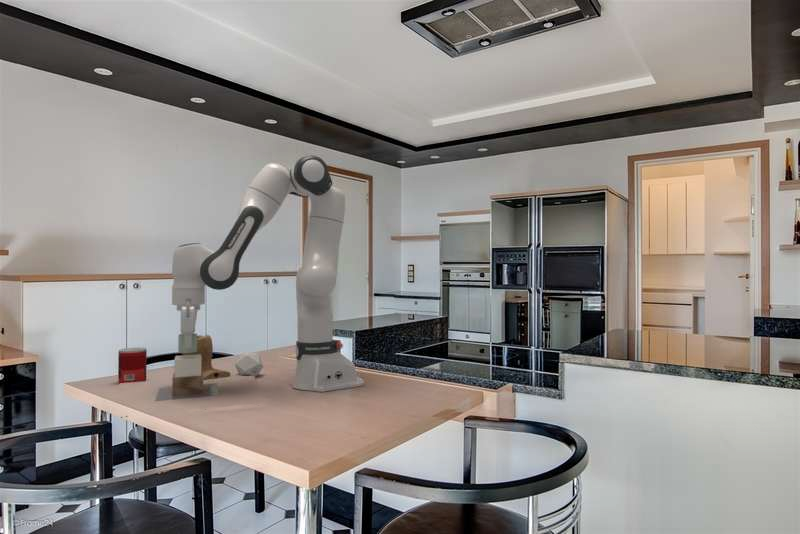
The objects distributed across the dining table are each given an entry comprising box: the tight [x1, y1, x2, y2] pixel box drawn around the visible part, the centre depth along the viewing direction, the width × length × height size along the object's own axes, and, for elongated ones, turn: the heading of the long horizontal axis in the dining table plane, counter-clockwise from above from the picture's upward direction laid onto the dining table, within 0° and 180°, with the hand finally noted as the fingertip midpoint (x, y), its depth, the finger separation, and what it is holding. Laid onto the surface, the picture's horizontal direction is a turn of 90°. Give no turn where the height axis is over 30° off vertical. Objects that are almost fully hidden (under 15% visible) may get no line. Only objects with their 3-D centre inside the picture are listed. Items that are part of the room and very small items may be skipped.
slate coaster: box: [154, 382, 219, 402], centre depth 140 cm, size 16×16×1 cm
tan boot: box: [181, 334, 231, 381], centre depth 161 cm, size 15×12×15 cm
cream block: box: [173, 355, 201, 378], centre depth 140 cm, size 7×7×5 cm
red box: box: [117, 346, 148, 385], centre depth 157 cm, size 8×8×11 cm
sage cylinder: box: [177, 333, 198, 354], centre depth 140 cm, size 5×5×5 cm
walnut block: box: [171, 371, 204, 396], centre depth 140 cm, size 8×8×5 cm
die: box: [234, 352, 264, 378], centre depth 166 cm, size 8×9×10 cm
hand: (188, 346), depth 141 cm, fingers closed on sage cylinder, 5 cm apart
